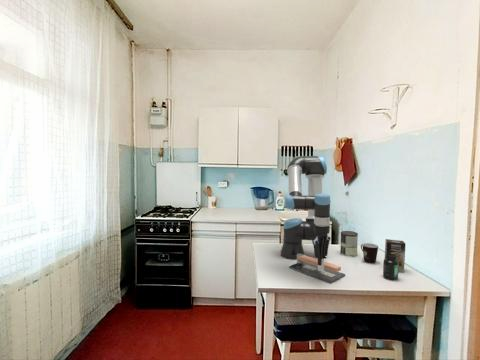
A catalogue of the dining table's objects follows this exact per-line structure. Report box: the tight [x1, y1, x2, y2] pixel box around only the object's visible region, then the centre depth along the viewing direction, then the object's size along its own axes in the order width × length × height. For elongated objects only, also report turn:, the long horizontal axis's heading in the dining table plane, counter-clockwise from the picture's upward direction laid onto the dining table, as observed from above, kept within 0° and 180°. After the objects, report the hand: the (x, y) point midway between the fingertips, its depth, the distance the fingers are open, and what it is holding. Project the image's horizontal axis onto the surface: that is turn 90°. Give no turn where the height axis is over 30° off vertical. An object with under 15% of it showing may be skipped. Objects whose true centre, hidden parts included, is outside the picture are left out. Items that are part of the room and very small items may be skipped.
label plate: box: [288, 259, 346, 284], centre depth 145 cm, size 26×14×4 cm, turn 40°
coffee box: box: [384, 238, 406, 274], centre depth 148 cm, size 9×6×16 cm
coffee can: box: [340, 230, 359, 258], centre depth 174 cm, size 10×10×14 cm
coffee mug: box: [360, 242, 379, 265], centre depth 162 cm, size 12×9×10 cm
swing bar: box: [296, 254, 342, 273], centre depth 145 cm, size 26×4×3 cm, turn 40°
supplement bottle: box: [382, 254, 399, 281], centre depth 138 cm, size 7×7×12 cm
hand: (320, 270), depth 136 cm, fingers closed
